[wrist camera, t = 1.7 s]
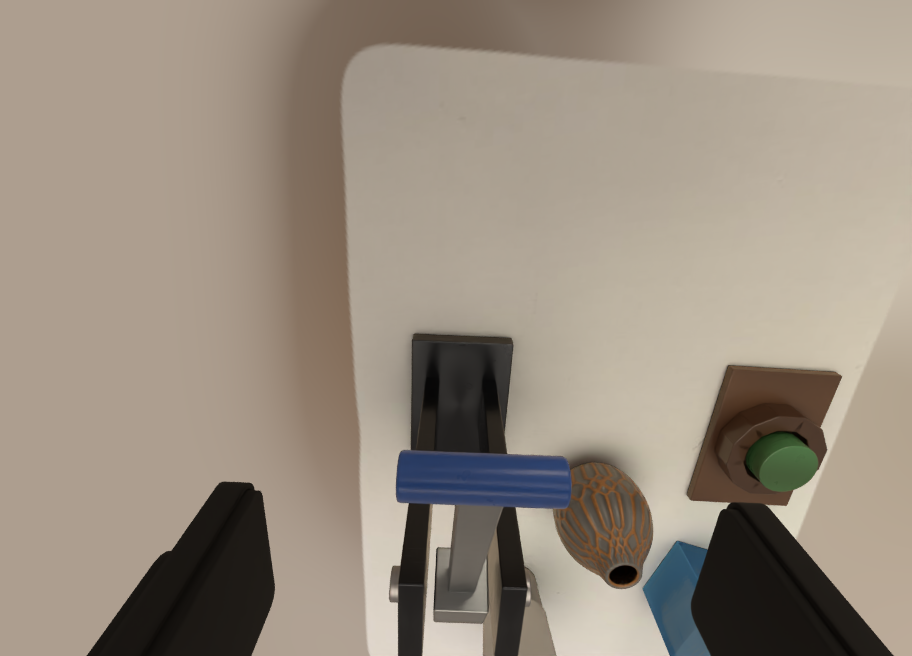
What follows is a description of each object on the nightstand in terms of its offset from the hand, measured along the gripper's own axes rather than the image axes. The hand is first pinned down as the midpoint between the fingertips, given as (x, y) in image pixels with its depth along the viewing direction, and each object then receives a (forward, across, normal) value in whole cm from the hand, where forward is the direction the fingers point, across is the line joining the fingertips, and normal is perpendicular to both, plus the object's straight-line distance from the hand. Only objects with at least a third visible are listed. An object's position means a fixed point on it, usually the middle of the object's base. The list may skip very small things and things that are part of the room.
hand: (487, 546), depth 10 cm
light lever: (+6, 0, +5) cm, 8 cm away
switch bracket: (+24, 0, +10) cm, 26 cm away
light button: (+21, -23, +13) cm, 34 cm away
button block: (+24, -23, +13) cm, 35 cm away
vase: (+24, -11, +18) cm, 32 cm away
